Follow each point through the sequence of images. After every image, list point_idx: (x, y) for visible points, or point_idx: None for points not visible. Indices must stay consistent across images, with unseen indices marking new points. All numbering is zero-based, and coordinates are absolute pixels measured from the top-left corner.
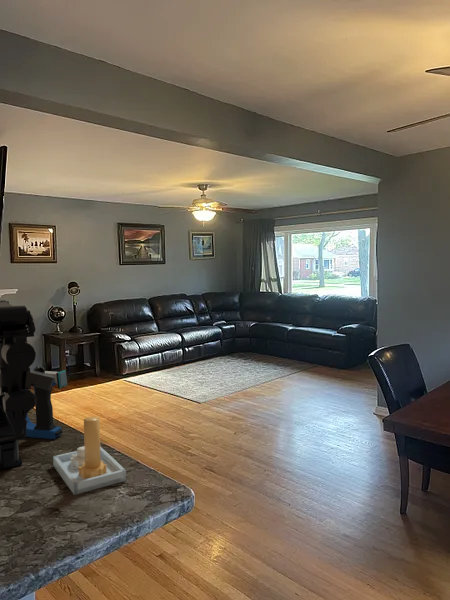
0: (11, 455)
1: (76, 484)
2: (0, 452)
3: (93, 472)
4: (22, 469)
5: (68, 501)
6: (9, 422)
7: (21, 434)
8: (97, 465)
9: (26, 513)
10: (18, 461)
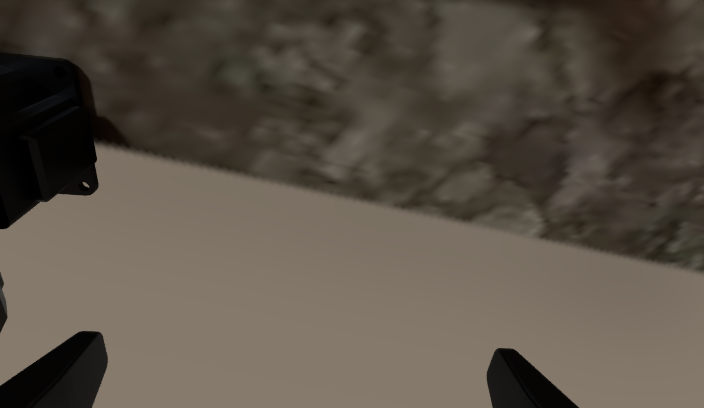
0: (59, 142)
1: None
2: (36, 204)
3: None
4: (136, 76)
5: (643, 12)
6: (99, 380)
7: (518, 356)
8: None
9: (578, 181)
10: (32, 74)
